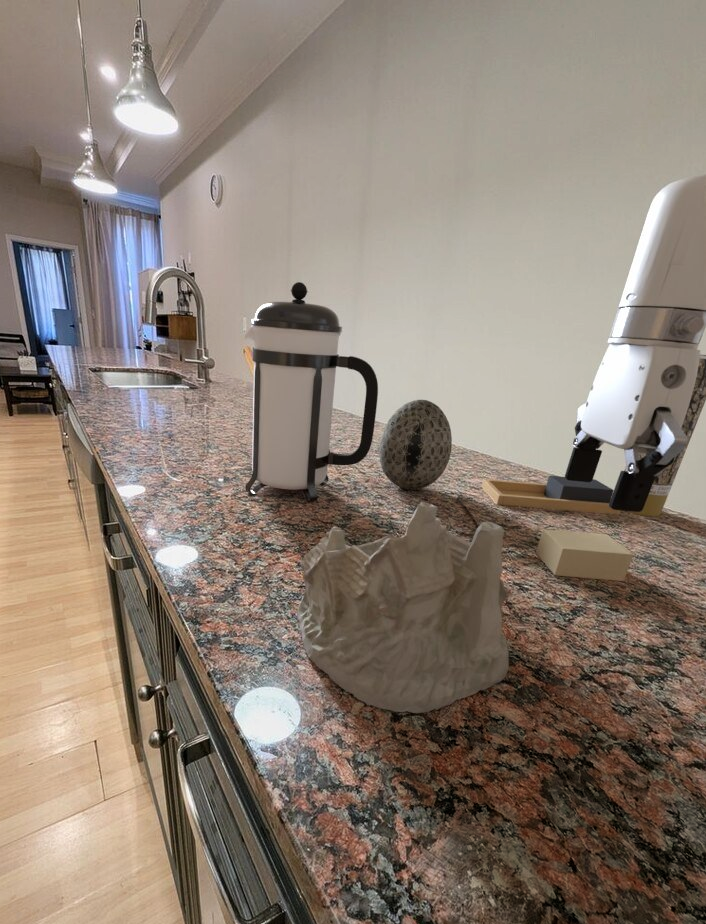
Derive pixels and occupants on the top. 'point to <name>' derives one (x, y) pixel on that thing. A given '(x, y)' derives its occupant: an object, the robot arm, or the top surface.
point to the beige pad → (583, 555)
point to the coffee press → (300, 395)
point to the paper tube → (662, 484)
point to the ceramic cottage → (407, 614)
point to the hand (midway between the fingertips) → (599, 493)
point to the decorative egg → (415, 445)
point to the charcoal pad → (577, 490)
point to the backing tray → (537, 497)
